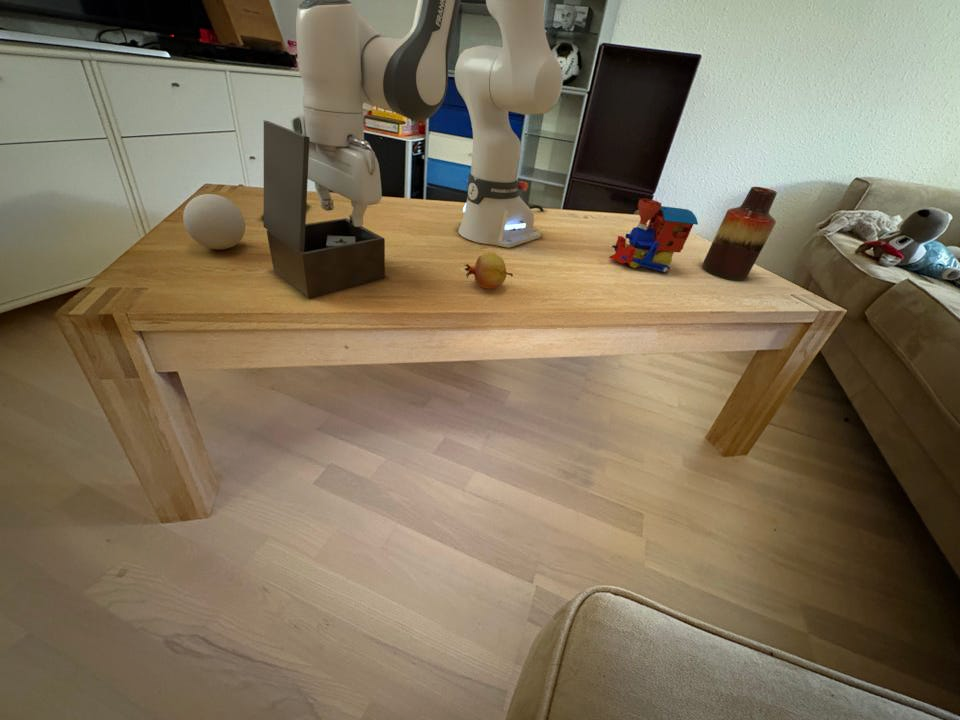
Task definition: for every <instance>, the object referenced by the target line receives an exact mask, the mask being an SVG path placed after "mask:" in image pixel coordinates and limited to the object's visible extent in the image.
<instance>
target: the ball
mask: <svg viewBox="0 0 960 720" xmlns="http://www.w3.org/2000/svg"><path fill="white" fill-rule="evenodd" d="M182 220H183V225H184V228H185V230H186V232H187V234H188V235H189V236H190V237H191V239H193V240H194V241H195V242H196V243H198V244H199V245H202V246H203V247H205V248H209V249H213V250H226V249H230V248H233V247H235V246H236V245H238V244H239V243H240V242H241V241H242V240H243V238H244V236H245V233H246V220H245V217H244V214H243V213H242V211H241V209H240V208H239V207H238V206H237V205H236V204H235V203H234V202H232V201H231V200H230V199H228V198H226V197H224V196H221V195H218V194H213V193H205V194H200V195H197V196H195V197H193V198H191V200H189V201H188V203H187V204H186V205H185V207H184V210H183V214H182Z"/></svg>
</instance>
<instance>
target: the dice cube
mask: <svg viewBox="0 0 960 720" xmlns="http://www.w3.org/2000/svg"><path fill="white" fill-rule="evenodd" d="M355 242H356V241H355V237H350V236H328V237H327V243H326V248H329V247H334V246H339V245H344V244H349V243H355Z"/></svg>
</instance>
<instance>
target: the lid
mask: <svg viewBox="0 0 960 720" xmlns="http://www.w3.org/2000/svg"><path fill="white" fill-rule="evenodd" d="M309 139H310V138H309V137H308V136H305V135H303V134H300V133H297V132H295V131H293V130H292V129H290V128H287V127H284V126H282V125H279V124H277V123H275V122H271V121H269V120H265V119H264V120H263V215H264V220H263V228H264V229H266V231H267V230H269V231H270V232H272V233H273V234H275V235H276V236H278V237H279V238H280V239H282V240H283V241H285V242H286V243H288V244H289V245H291V246H292V247H294V248H295V249H297V250H298V251H299V252H304V246H305V225H306V224H307V223H306V222H307V205H306V203H307V200H308V181H309V179H308V160H309ZM307 204H308V203H307Z"/></svg>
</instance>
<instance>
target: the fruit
mask: <svg viewBox="0 0 960 720" xmlns="http://www.w3.org/2000/svg"><path fill="white" fill-rule="evenodd" d="M463 265H464V266H465V268H464V270H465V271H466V274H465V277H466V278H467V279H468V278H469V277H470V275H474V281H475V283H476V284H477V285H478V286H479V287H480V288H483V289H488V290H491V289H496V288H498V287H500V286H502V285H503V283H504V282H505V281H506V278H507V275H508V276H510V277H514V273H512V272H507V269H506V268H507V267H506V263H505V260H504V259H503V258H502V257H501V256H500V255H498V254H497V253H495V252H484V253H481V254H480V255H479V256H478V257H477V259H476V261H475V265H473V266H471V265H470V264H469V263H467V264H463Z"/></svg>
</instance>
